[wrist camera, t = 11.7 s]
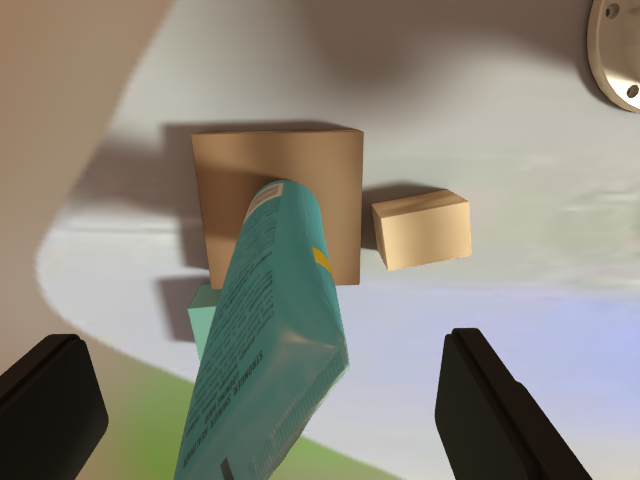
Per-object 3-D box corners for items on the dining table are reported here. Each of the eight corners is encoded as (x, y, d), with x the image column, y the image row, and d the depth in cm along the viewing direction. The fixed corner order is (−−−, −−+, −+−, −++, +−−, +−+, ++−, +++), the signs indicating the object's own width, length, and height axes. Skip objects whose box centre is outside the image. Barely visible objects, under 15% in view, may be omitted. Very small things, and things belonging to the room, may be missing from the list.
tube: (294, 271, 26) (267, 637, 8) (232, 244, 25) (44, 589, 7) (341, 180, 24) (450, 406, 6) (275, 147, 23) (161, 293, 5)
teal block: (202, 283, 30) (187, 308, 26) (250, 279, 30) (242, 304, 26) (215, 343, 32) (203, 374, 28) (260, 339, 32) (253, 370, 28)
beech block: (446, 189, 28) (469, 201, 24) (449, 236, 29) (471, 255, 25) (370, 203, 28) (381, 218, 24) (377, 250, 29) (388, 270, 25)
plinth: (357, 129, 26) (363, 131, 23) (354, 268, 29) (359, 284, 27) (203, 131, 25) (191, 134, 22) (220, 271, 29) (211, 289, 26)
